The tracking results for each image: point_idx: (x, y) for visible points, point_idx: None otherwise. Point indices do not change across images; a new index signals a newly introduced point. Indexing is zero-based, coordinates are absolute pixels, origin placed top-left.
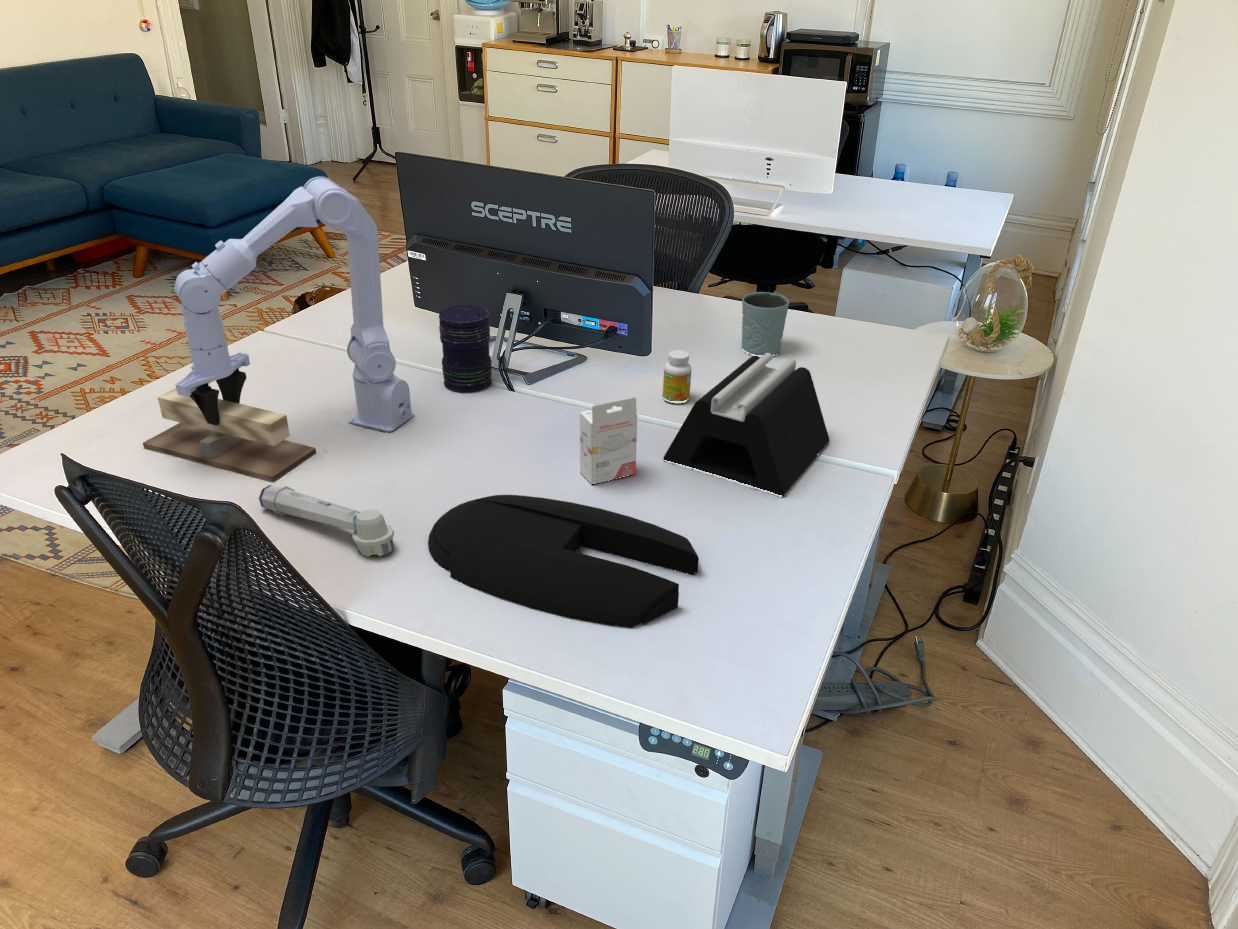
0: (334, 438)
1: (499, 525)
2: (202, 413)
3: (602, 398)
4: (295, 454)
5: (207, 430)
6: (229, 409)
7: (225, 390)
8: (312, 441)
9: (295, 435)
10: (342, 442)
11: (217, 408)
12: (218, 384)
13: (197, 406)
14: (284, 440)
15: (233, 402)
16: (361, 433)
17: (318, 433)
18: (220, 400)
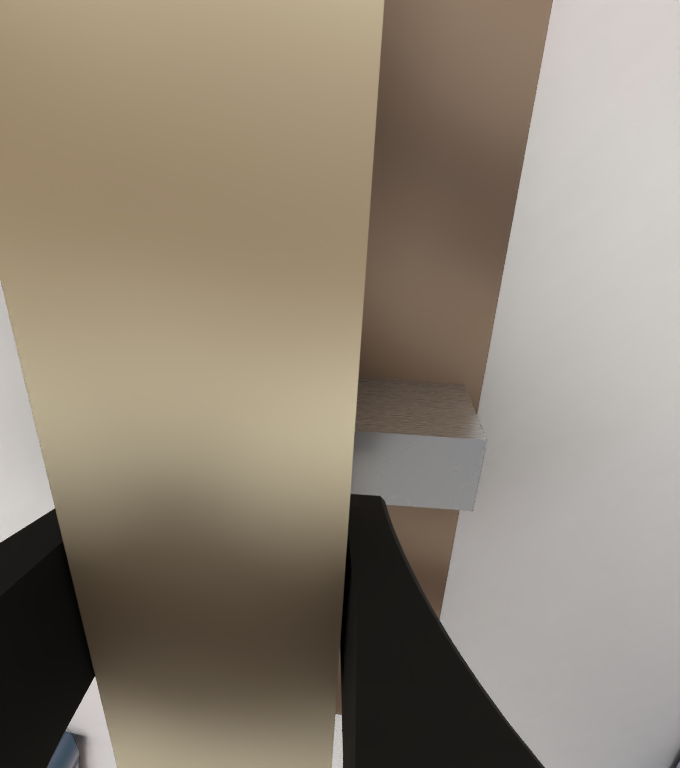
0: (557, 699)
1: None
2: (21, 531)
3: None
4: (340, 688)
5: (406, 124)
6: (193, 718)
7: (350, 749)
8: (508, 647)
9: (546, 568)
10: (531, 730)
11: (53, 739)
12: (356, 763)
13: (49, 435)
14: (439, 602)
15: (332, 682)
16: (624, 752)
17: (589, 636)
18: (314, 563)
